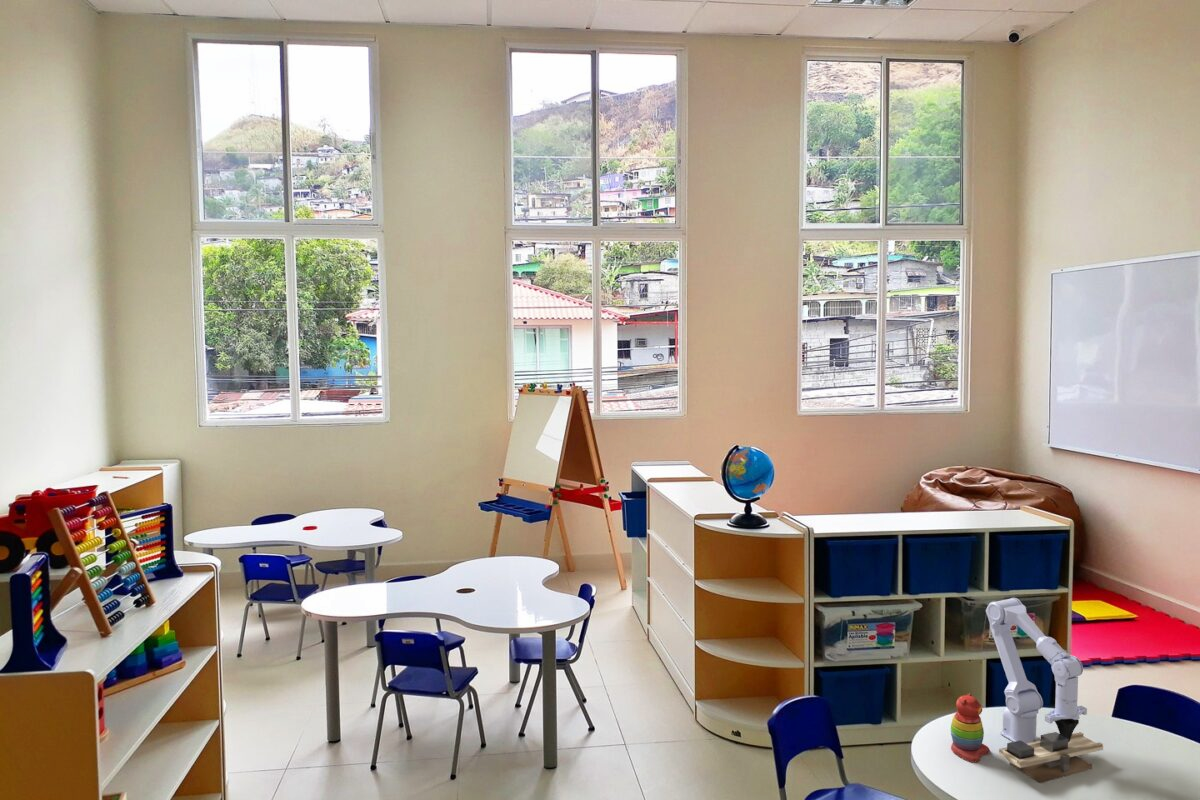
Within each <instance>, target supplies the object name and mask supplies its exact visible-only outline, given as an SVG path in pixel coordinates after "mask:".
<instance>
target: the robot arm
mask: <svg viewBox="0 0 1200 800" xmlns="http://www.w3.org/2000/svg"><path fill="white" fill-rule="evenodd" d="M985 613H986V617H987V619H988V622H989V628H990V631H991V635H992V637H993V640H994V644H995V645H996V646H995V647H996V649H997V652H998V655H999V657H1000V661H1001V664H1002V667H1003V670H1004V672H1005V677H1006V679H1007V682H1008V684H1007V686H1006V687H1005V689H1004V691H1003V693H1004V695H1005V706H1006V707H1005V708H1004V711H1003V714H1002V731H1001V732H1000V735H1001V736H1003V737H1005V738H1007V739H1008V740H1010V741H1011V742H1015V741H1020V740H1021V741H1022V742H1024V743H1031V742H1034V739H1037V738H1038V737H1037V722H1038V721H1037V717H1038V714H1039V710H1041V709H1042V708H1043V706H1044V701H1043V698H1042V696H1041V693H1039V692H1038V689H1037V687H1036V685H1035V684H1034V683H1032V682H1031V681H1029V680H1028V679H1027V676H1026V672H1025V669H1024V668H1023V663H1022V661H1021V659H1020V655H1019V653H1018V650H1017V647H1016V644H1015V641H1014V638H1013V634H1012V632H1011V629H1012V628H1013V626H1017V627H1018V628H1020V629H1021V630H1022V631H1023V632H1024V633H1025V634H1026V635H1027V636H1028V637H1029V638H1030V639H1031V640H1032V641H1033V642H1035V645H1036V650H1037V652H1039V654H1041V655H1042V656H1043V658H1044V659H1045V660H1046V661H1047V662H1048V663H1049V664H1050V665H1051V671H1052V673H1053V675H1054V681H1055V699H1054V700H1055V702H1054V703H1055V704H1054V707H1055V708H1053V710H1051V711H1050V712H1049V713H1047V714H1044V721H1045V722H1046V723H1048V724H1050V725H1051V724H1054V723H1055V724H1056V726H1057V731H1058V733H1059V734H1061V735H1063V736H1064V737H1066V738H1068V742H1069V741H1070V739H1071V736H1072V734H1074V733H1073V732H1074V731H1075V729H1076V728H1077V727H1078V725H1079V723H1080V722H1079V721H1080V720H1079V719H1080V716H1081V715H1083V716H1086V715H1087V714H1088V708H1087V707H1085V706H1083V705H1078V696H1079V695H1078V694H1079V692H1078V691H1079V676H1081V675H1082V674H1083V672H1084V666H1083V663H1082V661H1081V660H1080V659H1079V658H1078V657H1077V656H1075V655H1071V654H1070V653H1067V652H1066V651H1065V650H1064V648H1062V646H1061V645H1060V644H1059V643H1057V642H1058V641H1057V640H1056V639H1055V638H1053V637H1051V636H1046V635H1045V633H1043V631H1042V630H1041V629H1040V627H1038V625H1037V624H1036V623H1035V621H1034V620H1033V619H1032V618H1031V617H1030V616H1029V614H1028V613H1027V607H1026V605H1024V604H1023V603H1022V601H1021V600H1020V599H1019V598H1017V597H1011V598H1007V599H1003V600H998V601H991V602H989V604H988V605H987V607H986V609H985ZM1053 722H1054V723H1053Z"/></svg>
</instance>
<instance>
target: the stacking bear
mask: <svg viewBox="0 0 1200 800" xmlns="http://www.w3.org/2000/svg"><path fill="white" fill-rule="evenodd" d="M956 699H957V700H956V701H955V702H956V703H955V705H956V710H957V712H955V714H954V715H953V716H952V721H951V724H950V737H951V740H952V743H951V745H950V746H951V747H950V749H951V752H952V753H954V755H956V754H957V755H958V757H959V756H960V757H959V758H961V759H962V758H963V760H965V761H967V760H968V762H970V761H971V762H970V763H978V761H979V762H980V761H981V757H982V756H985V755H989V754H990V753H991V751H990V750H991V749H990V748H989V746H988V745H986V744H984V743H983V741H984V735H985V734H984V731H985V730H984V726H983V721H982V717H981V716H980V715H981V714H982V712H983V707H982V705H981V703H980V702H979V701H978V699H976V698H975V697H974V696H972V693H967V694H966V695H965V694H963V695H960V696H959V697H958V698H956ZM957 755H956V756H957Z"/></svg>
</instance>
